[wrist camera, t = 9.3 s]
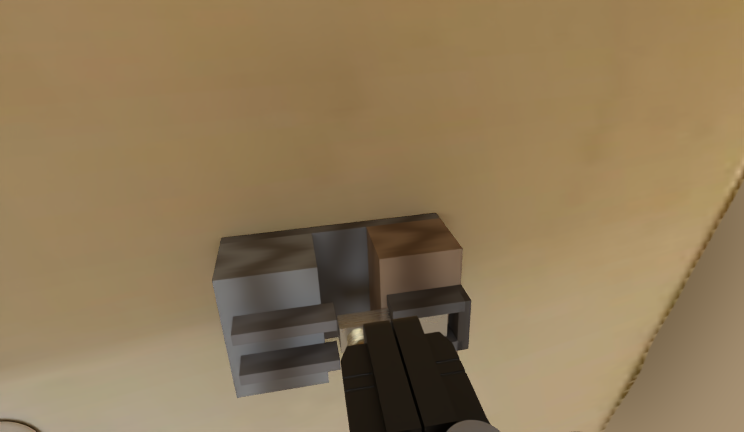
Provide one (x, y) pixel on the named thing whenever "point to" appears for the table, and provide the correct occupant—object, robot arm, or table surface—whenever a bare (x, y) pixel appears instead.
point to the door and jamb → (329, 293)
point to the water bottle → (14, 427)
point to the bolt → (353, 323)
